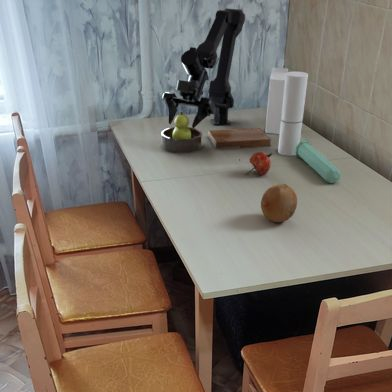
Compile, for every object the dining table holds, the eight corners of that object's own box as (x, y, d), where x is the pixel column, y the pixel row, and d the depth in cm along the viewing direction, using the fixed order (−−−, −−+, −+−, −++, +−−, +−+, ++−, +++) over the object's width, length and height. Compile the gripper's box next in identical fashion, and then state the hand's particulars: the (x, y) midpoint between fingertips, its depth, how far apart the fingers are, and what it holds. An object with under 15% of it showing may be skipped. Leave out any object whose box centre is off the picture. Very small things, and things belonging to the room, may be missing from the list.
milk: (268, 128, 211) (273, 65, 197) (283, 129, 210) (289, 66, 196) (265, 133, 206) (270, 69, 193) (280, 134, 205) (287, 70, 191)
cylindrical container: (297, 149, 193) (307, 71, 177) (298, 156, 187) (308, 76, 171) (277, 148, 193) (285, 71, 178) (278, 155, 188) (286, 76, 172)
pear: (171, 143, 195) (170, 109, 188) (189, 142, 196) (189, 108, 189) (174, 149, 190) (173, 115, 183) (192, 148, 191) (192, 114, 184)
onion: (271, 209, 154) (275, 174, 147) (302, 219, 149) (306, 184, 143) (252, 220, 148) (254, 185, 142) (283, 231, 143) (287, 195, 137)
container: (342, 164, 164) (308, 137, 183) (324, 173, 164) (292, 145, 183) (345, 181, 168) (312, 152, 187) (328, 190, 168) (297, 160, 187)
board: (208, 137, 202) (208, 130, 200) (260, 134, 205) (260, 127, 203) (215, 149, 192) (215, 142, 190) (270, 146, 195) (270, 139, 193)
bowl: (159, 141, 198) (158, 127, 194) (197, 139, 200) (197, 125, 197) (165, 155, 187) (164, 140, 184) (205, 153, 189) (205, 138, 186)
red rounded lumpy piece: (252, 186, 172) (279, 167, 169) (239, 167, 169) (266, 147, 166) (251, 179, 178) (277, 161, 175) (239, 161, 176) (265, 142, 172)
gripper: (163, 66, 185) (148, 108, 184) (213, 72, 178) (197, 116, 177) (175, 86, 195) (161, 126, 194) (222, 92, 189) (207, 134, 188)
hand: (181, 125), depth 188 cm, fingers open, 9 cm apart
